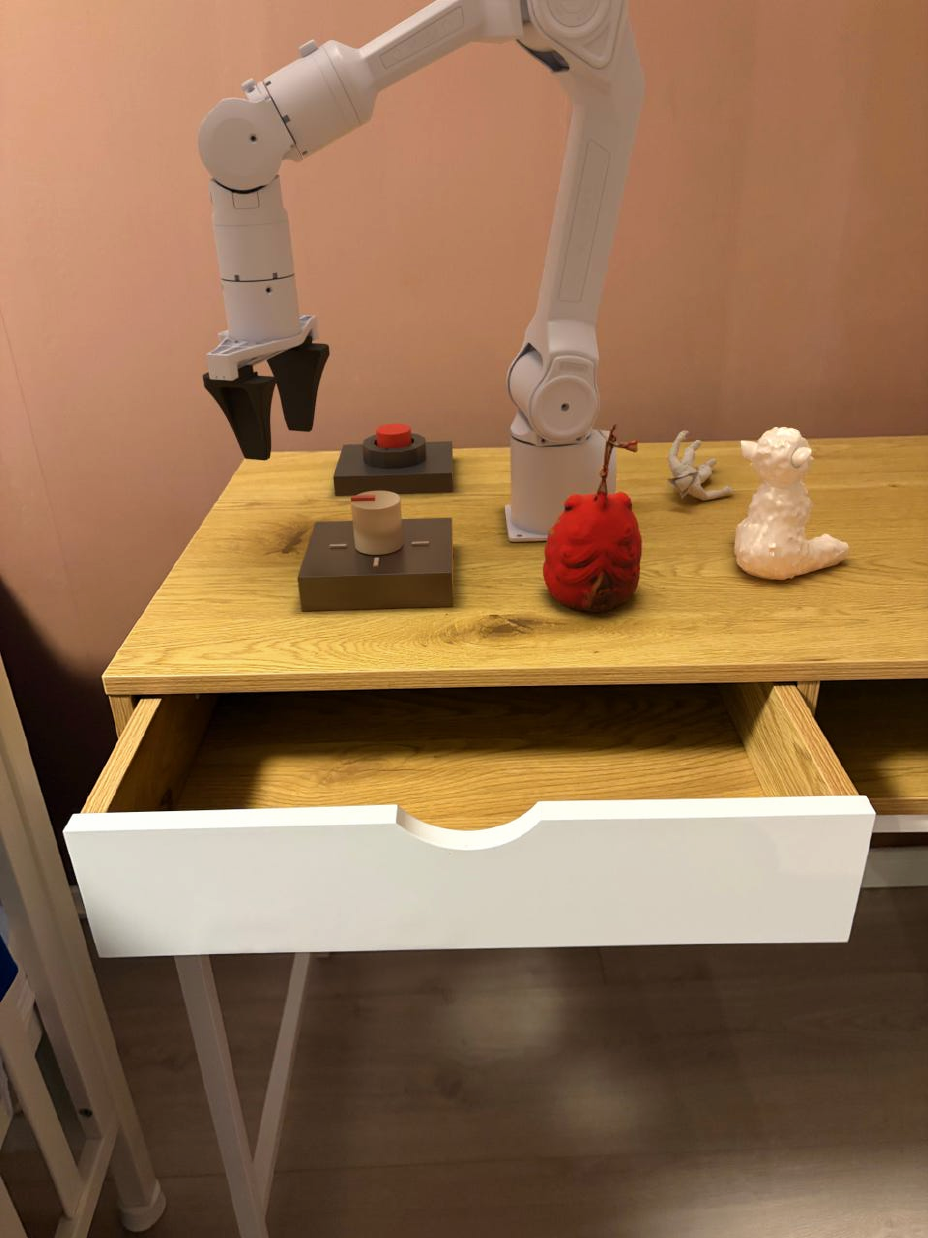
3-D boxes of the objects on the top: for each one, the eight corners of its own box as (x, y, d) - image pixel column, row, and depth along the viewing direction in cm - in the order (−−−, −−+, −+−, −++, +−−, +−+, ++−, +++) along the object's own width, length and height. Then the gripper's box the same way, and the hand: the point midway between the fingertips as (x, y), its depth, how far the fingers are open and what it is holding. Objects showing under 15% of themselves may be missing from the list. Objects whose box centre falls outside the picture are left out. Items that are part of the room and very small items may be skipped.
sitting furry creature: (849, 560, 79) (875, 421, 73) (812, 600, 73) (837, 452, 67) (742, 535, 84) (758, 403, 79) (699, 570, 78) (713, 430, 73)
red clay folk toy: (624, 575, 78) (635, 396, 71) (652, 615, 72) (667, 424, 65) (535, 584, 77) (536, 404, 70) (555, 625, 71) (559, 432, 64)
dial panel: (453, 548, 84) (451, 515, 82) (453, 606, 74) (451, 570, 73) (318, 552, 84) (315, 519, 82) (301, 611, 74) (296, 575, 73)
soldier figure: (736, 482, 98) (743, 488, 87) (698, 513, 100) (701, 522, 88) (687, 426, 98) (689, 423, 87) (651, 457, 100) (647, 459, 88)
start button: (412, 438, 100) (411, 422, 99) (410, 449, 97) (409, 433, 96) (378, 439, 100) (377, 423, 99) (375, 450, 97) (374, 434, 96)
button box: (452, 460, 104) (451, 424, 102) (452, 493, 96) (451, 455, 94) (345, 463, 104) (341, 428, 102) (335, 496, 96) (331, 459, 94)
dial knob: (404, 534, 79) (401, 486, 77) (402, 554, 76) (398, 504, 74) (357, 535, 79) (352, 487, 77) (352, 555, 76) (348, 506, 74)
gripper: (259, 260, 81) (279, 415, 87) (159, 290, 69) (191, 468, 75) (333, 262, 78) (348, 420, 85) (244, 293, 66) (269, 475, 73)
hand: (279, 443), depth 80 cm, fingers open, 7 cm apart
